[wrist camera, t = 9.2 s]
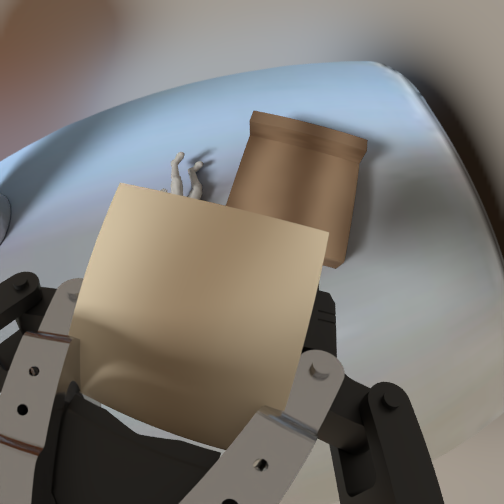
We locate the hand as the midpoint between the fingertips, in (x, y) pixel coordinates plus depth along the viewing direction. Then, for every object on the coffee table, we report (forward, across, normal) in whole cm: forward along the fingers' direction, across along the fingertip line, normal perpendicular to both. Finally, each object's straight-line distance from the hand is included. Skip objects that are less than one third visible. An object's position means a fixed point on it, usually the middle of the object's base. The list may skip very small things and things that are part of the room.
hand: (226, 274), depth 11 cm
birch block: (+1, 0, +4) cm, 4 cm away
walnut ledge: (+21, -2, +5) cm, 22 cm away
